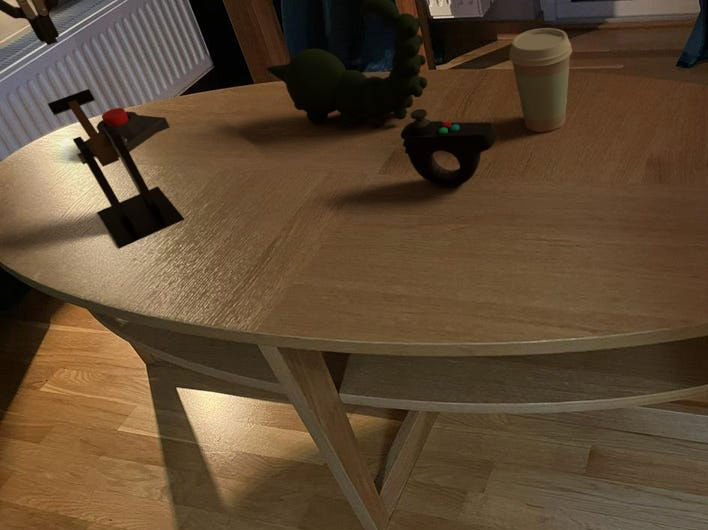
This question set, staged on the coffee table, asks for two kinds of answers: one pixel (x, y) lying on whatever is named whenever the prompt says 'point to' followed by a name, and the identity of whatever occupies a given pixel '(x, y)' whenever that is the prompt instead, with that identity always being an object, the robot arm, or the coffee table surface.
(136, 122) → the button block
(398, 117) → the toy figurine
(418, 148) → the controller
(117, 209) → the bracket
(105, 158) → the lever
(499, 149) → the coffee table surface
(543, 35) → the coffee cup
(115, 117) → the button
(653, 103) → the coffee table surface
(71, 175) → the coffee table surface
